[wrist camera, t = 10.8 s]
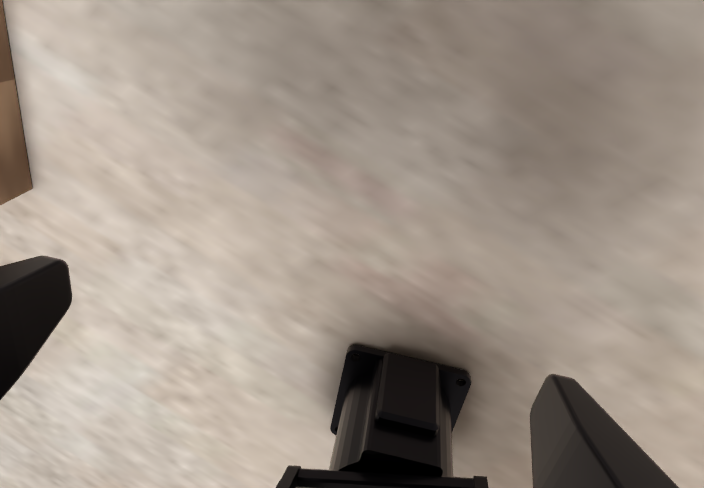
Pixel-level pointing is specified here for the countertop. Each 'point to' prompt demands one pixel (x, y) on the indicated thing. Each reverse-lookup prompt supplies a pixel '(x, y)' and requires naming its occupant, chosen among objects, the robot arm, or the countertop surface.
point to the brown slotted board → (10, 127)
